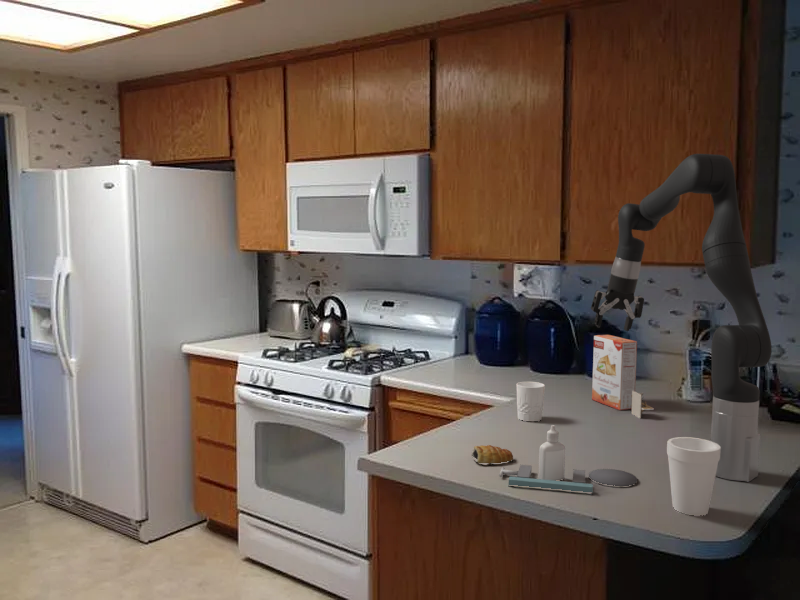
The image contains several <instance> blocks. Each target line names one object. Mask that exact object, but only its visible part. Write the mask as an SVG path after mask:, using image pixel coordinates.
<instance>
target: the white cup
mask: <svg viewBox="0 0 800 600" xmlns="http://www.w3.org/2000/svg"><path fill="white" fill-rule="evenodd" d="M515 385H516V409H517V420H519V419H520V420H519V421H521V420H523V421H522V422H526V421H538V422H541V421H542V418H543V411H544V400H545V391H546V389H545V387H546V385H545V384H544V383H542V382H538V381H519V382H517V383H516V384H515ZM540 420H541V421H540Z"/></svg>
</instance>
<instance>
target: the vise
mask: <svg viewBox="0 0 800 600" xmlns="http://www.w3.org/2000/svg"><path fill="white" fill-rule="evenodd" d="M532 467H533V466H532V464H531V465H529V464H520V465H519V467H518V470H511V469H506V468H505V467H503V466H502V467H501V468H500V472H499V475H498V476H499V477H500V478H501V477H503V475H505V474H507V476H509V478H508V486H509V485H518V486H529V487H541V488H551V489H562V490H571V491H583V492H592V493H593V494H594V491H593V489H594V488H593V487H594V485H593V483H586V470H585V469H577V468H576V469H575V468H574V469H573V470H572V471H573V472H572V481H563V480H562V481H554V480H543V479H539V478H531V476H532V471H533V470H532ZM515 475H517V476H515ZM530 475H531V476H530Z"/></svg>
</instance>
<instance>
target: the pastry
mask: <svg viewBox="0 0 800 600" xmlns="http://www.w3.org/2000/svg"><path fill="white" fill-rule="evenodd" d="M472 456H473V457H474V458H476V459H477V460H476V462H478V463H489V464H488V465H491V464H490V463H501V462H507V461H511V460H513V461H514V455H513V452H512V451H510V450H509V449H508V448H502V447H499V446H496V445H495V446H494V445H490V444H488V445H475V446H474V447H473V449H472V451H471V457H472ZM473 457H472V458H473ZM476 462H475V463H476ZM511 462H512V461H511ZM478 463H477V464H478Z"/></svg>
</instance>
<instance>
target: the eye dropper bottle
mask: <svg viewBox="0 0 800 600" xmlns="http://www.w3.org/2000/svg"><path fill="white" fill-rule="evenodd" d="M565 467H566V445H565V444H564V443H562V442H560V441H559V431H557V430H556V425H554V424H551V425H550V429H549V430H547V432H546V441H545V442H543V443H542V444H541V445H540V446H539V451H538V475H537V476H538V478H537V479H543V480H554V481H556V480H561V479H565V470H566V468H565Z"/></svg>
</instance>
